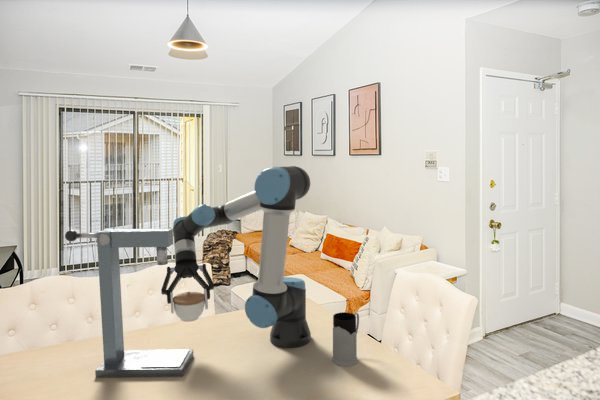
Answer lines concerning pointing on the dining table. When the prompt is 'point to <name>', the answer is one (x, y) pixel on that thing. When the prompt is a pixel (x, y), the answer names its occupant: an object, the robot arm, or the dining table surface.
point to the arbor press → (111, 306)
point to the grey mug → (345, 339)
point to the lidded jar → (189, 305)
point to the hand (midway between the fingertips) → (189, 309)
